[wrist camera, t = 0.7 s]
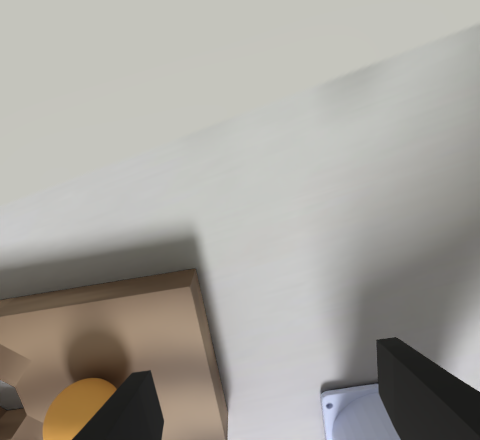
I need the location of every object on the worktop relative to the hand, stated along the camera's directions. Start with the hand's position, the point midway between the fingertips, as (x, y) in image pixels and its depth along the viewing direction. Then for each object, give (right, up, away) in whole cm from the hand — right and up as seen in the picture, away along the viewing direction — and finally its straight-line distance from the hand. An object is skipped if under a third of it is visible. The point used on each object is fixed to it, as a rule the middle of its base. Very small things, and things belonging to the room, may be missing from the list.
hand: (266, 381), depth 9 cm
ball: (-10, -6, +7) cm, 14 cm away
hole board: (-13, -5, +12) cm, 18 cm away
